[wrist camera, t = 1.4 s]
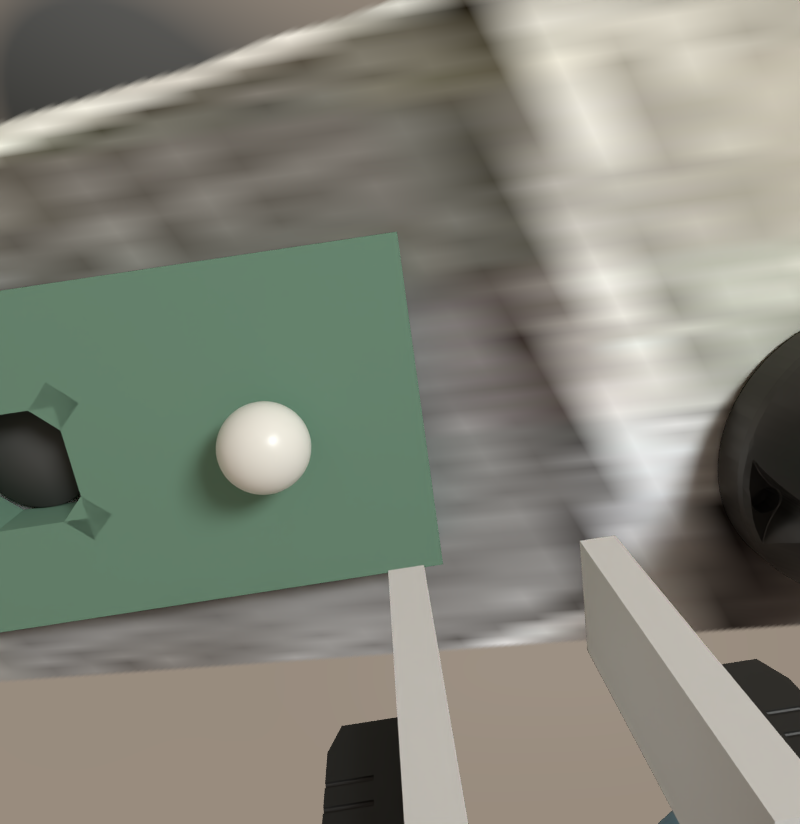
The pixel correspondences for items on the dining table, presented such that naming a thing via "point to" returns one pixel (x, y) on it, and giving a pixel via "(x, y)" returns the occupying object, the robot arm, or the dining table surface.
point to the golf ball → (263, 447)
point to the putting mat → (207, 431)
